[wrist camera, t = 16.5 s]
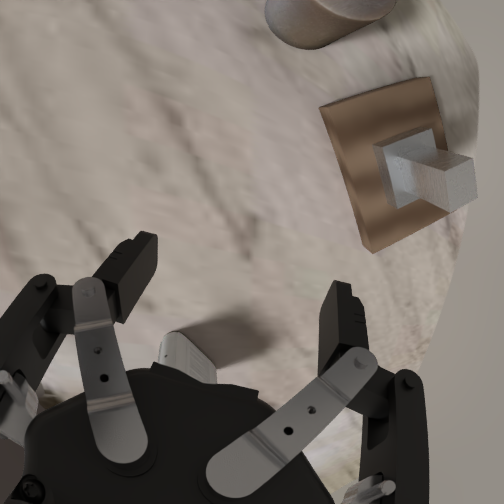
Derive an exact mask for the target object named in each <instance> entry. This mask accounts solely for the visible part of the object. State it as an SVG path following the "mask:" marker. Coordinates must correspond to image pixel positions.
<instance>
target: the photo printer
mask: <svg viewBox="0 0 504 504" xmlns="http://www.w3.org/2000/svg"><path fill="white" fill-rule="evenodd" d="M158 363H160V364H163V365H166V366H169V367H172V368H175V369H179V370H180V371H182V372H184V373H186V374H187V375H189V376H191V377H193V378H195V379H196V380H198V381H200V382H202V383H208V384H217V373H216V368H215V366H214V364H213V363H212V362H211V361H210V360H209V359H208V358H207V357H206V356H205V355H204V354H203V353H202V352H201V351H200V350H199V349H198V348H197V347H196V346H195V345H194V344H193V343H192V342H191V341H190V340H188V339H187V338H186V337H185V336H184V335H183V334H181V333H180V332H171V333H168V334H166V335H165V336H164V338H163V341H162V342H161V344H160V349H159V356H158Z"/></svg>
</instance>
